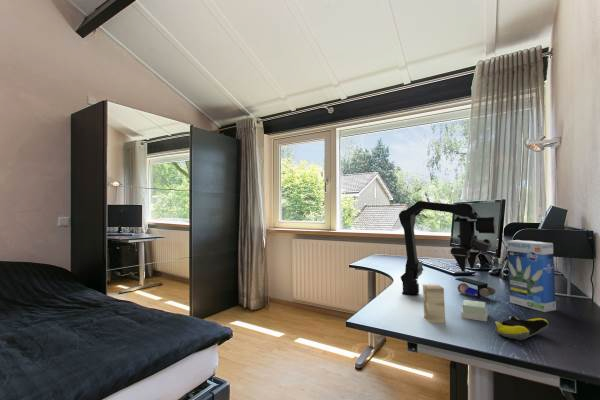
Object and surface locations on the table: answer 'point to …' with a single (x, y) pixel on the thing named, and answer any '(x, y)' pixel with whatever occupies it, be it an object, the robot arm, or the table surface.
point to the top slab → (474, 307)
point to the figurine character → (481, 292)
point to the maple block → (434, 303)
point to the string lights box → (531, 274)
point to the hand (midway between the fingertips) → (467, 269)
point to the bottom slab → (474, 316)
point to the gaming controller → (521, 327)
